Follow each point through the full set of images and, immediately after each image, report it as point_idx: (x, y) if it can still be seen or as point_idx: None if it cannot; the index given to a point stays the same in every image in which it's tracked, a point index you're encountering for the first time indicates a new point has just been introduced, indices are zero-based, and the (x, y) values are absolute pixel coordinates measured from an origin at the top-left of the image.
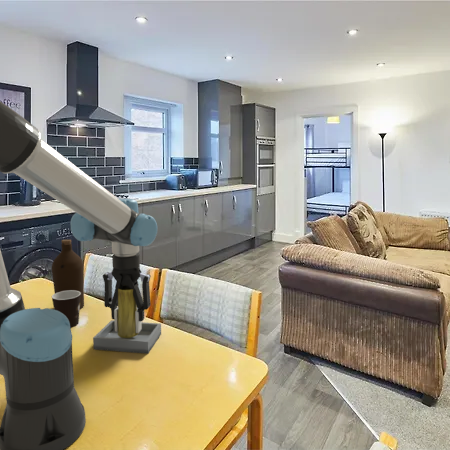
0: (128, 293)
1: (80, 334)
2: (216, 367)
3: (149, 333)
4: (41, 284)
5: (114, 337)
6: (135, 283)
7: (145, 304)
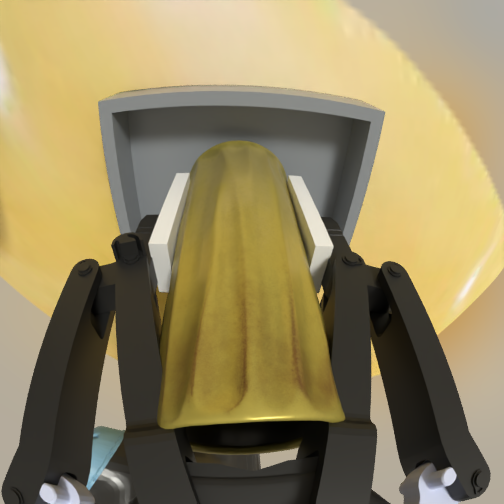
0: (281, 425)
1: (37, 156)
2: (459, 270)
3: (319, 124)
4: None
5: (173, 176)
6: (344, 455)
7: (379, 326)
